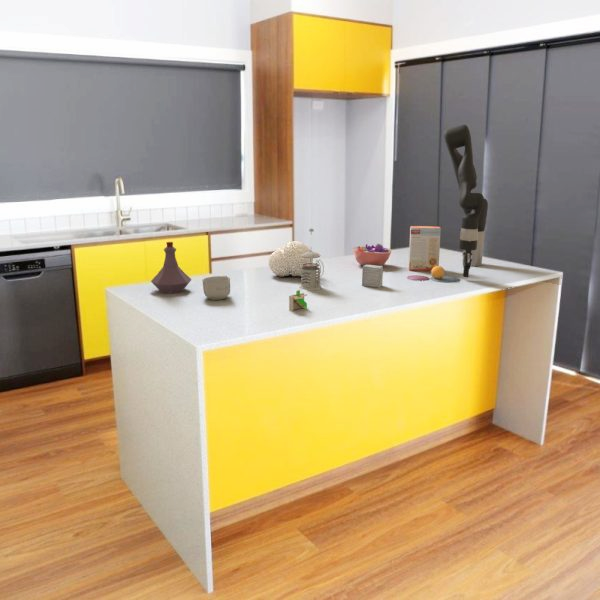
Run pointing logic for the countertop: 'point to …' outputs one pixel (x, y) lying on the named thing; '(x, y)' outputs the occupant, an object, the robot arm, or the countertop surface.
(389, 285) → the countertop surface
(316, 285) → the french press
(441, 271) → the ball
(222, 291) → the teacup
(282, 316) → the countertop surface
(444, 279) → the blue-gray disc
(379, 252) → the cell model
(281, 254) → the cauliflower
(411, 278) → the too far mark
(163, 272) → the flask
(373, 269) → the medicine box
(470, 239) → the robot arm
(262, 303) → the countertop surface
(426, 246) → the cracker box
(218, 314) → the countertop surface
